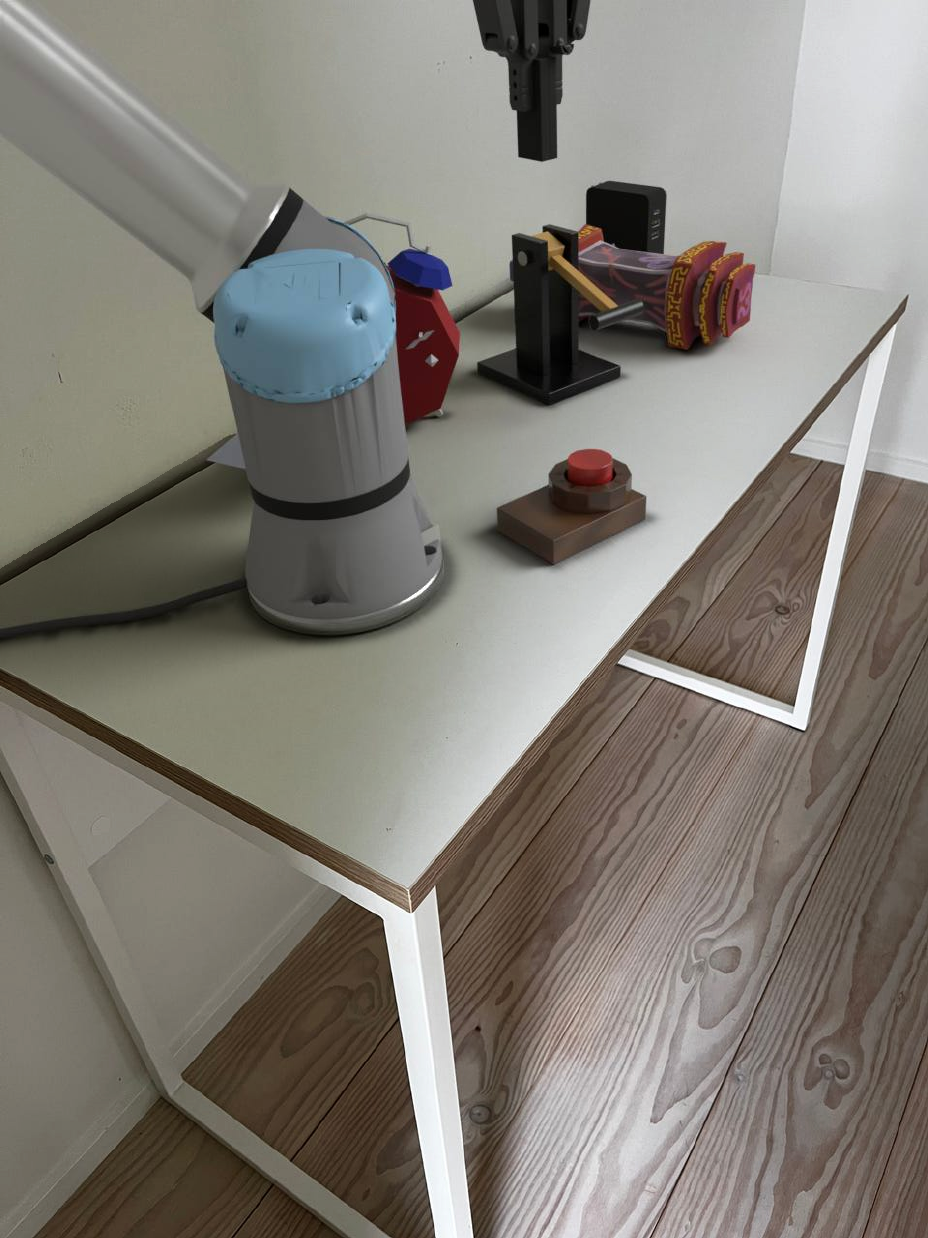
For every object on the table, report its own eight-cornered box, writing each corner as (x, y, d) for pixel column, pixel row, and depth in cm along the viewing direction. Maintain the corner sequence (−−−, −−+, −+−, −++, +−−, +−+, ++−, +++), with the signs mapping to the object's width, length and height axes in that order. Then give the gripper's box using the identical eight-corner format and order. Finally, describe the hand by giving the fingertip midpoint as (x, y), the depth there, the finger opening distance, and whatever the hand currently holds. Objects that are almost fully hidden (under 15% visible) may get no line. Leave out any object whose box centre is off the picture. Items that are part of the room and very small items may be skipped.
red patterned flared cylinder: (768, 242, 107) (533, 216, 122) (732, 267, 101) (490, 237, 116) (759, 331, 113) (536, 296, 128) (724, 360, 107) (494, 319, 122)
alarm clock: (465, 401, 103) (450, 198, 91) (464, 439, 96) (447, 223, 84) (323, 410, 104) (290, 209, 92) (312, 447, 97) (275, 235, 85)
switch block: (553, 565, 77) (552, 520, 75) (497, 530, 82) (495, 487, 79) (647, 518, 82) (649, 475, 79) (589, 488, 86) (590, 446, 84)
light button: (588, 493, 78) (588, 473, 77) (558, 477, 81) (558, 458, 80) (621, 478, 80) (622, 458, 79) (591, 463, 82) (591, 444, 81)
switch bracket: (620, 377, 105) (624, 232, 96) (549, 405, 101) (546, 256, 92) (546, 348, 113) (543, 212, 104) (477, 373, 109) (468, 233, 100)
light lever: (640, 321, 97) (647, 300, 95) (594, 337, 94) (601, 316, 92) (556, 247, 102) (561, 226, 100) (511, 261, 99) (516, 240, 98)
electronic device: (645, 274, 132) (648, 195, 126) (585, 263, 137) (585, 186, 132) (663, 266, 134) (667, 187, 128) (603, 255, 140) (604, 179, 134)
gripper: (479, -281, 54) (500, 182, 68) (650, -279, 60) (637, 147, 74) (402, -260, 59) (436, 167, 73) (567, -260, 65) (569, 135, 79)
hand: (537, 157), depth 73 cm, fingers closed
